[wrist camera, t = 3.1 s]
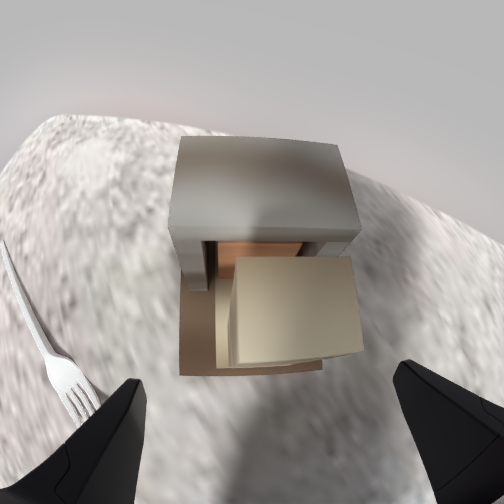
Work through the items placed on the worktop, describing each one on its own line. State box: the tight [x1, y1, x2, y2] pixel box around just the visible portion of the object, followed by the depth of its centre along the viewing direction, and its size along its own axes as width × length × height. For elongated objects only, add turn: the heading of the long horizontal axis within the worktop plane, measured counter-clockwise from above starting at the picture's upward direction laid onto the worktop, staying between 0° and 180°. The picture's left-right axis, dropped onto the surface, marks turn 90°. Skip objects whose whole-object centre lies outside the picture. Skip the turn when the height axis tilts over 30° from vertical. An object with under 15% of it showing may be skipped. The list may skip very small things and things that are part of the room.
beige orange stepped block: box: [215, 241, 364, 368], centre depth 13 cm, size 10×4×11 cm, turn 3°
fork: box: [0, 240, 101, 428], centre depth 16 cm, size 3×20×2 cm, turn 46°
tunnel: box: [168, 136, 362, 376], centre depth 16 cm, size 14×9×9 cm, turn 3°
